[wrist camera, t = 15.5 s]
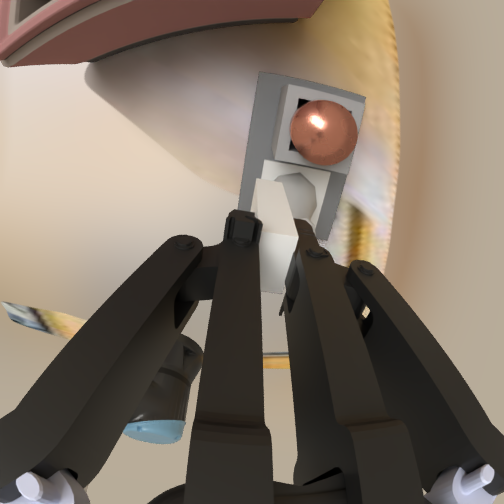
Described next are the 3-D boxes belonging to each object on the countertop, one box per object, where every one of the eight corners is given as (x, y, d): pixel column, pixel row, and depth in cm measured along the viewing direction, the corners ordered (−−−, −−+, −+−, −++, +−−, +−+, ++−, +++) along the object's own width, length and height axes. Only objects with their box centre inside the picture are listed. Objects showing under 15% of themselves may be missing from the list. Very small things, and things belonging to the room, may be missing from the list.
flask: (303, 163, 34) (318, 188, 26) (324, 207, 38) (343, 244, 29) (254, 187, 36) (253, 220, 28) (279, 229, 40) (285, 270, 31)
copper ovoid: (328, 153, 32) (348, 171, 25) (279, 142, 32) (285, 158, 25) (339, 105, 29) (364, 110, 22) (288, 93, 28) (298, 93, 21)
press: (324, 234, 43) (339, 272, 34) (236, 220, 42) (230, 257, 33) (360, 96, 31) (392, 100, 23) (259, 72, 30) (259, 64, 22)
